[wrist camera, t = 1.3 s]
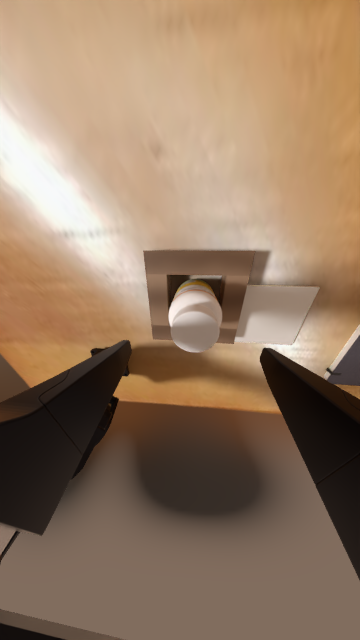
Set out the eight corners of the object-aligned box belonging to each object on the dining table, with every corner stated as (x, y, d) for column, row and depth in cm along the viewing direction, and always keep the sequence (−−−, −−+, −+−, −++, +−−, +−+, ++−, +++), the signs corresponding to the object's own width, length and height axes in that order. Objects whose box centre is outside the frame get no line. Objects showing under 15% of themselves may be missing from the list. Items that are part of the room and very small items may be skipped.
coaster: (289, 342, 21) (291, 345, 21) (231, 339, 22) (232, 341, 21) (315, 286, 17) (319, 287, 17) (243, 284, 18) (245, 285, 17)
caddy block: (229, 334, 22) (233, 343, 19) (157, 330, 23) (153, 339, 20) (246, 251, 16) (255, 250, 14) (150, 250, 17) (143, 250, 15)
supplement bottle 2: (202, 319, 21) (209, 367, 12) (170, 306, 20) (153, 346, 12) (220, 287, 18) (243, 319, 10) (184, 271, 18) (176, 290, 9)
